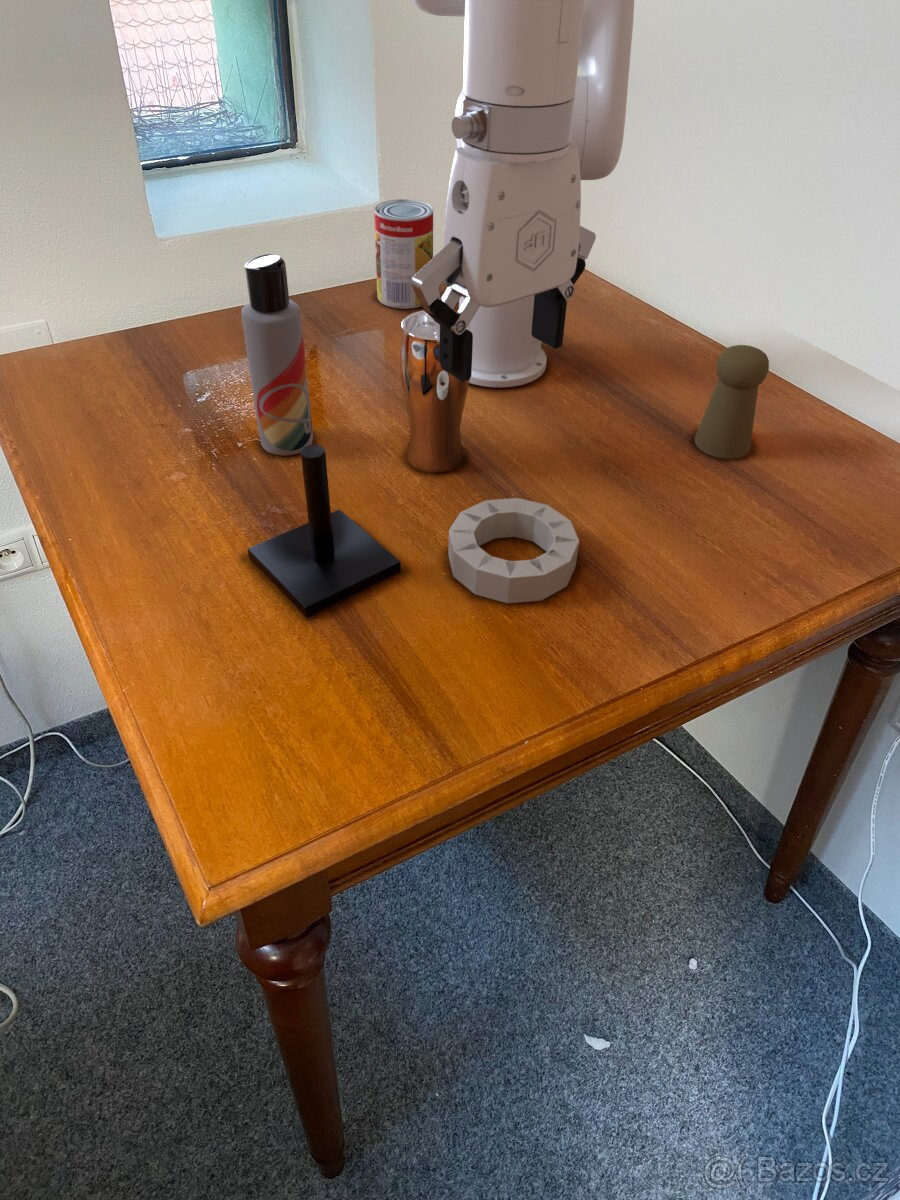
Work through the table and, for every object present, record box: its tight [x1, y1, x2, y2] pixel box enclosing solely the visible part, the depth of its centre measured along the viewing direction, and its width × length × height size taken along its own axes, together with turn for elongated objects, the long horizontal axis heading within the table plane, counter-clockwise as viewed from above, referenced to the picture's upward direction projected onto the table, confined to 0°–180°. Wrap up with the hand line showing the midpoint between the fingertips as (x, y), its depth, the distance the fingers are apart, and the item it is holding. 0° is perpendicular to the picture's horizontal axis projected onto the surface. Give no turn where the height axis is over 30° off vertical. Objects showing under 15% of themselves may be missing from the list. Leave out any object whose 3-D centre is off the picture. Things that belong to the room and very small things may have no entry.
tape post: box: [247, 444, 402, 618], centre depth 76 cm, size 10×10×12 cm
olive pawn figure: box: [694, 344, 770, 460], centre depth 93 cm, size 6×6×11 cm
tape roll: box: [447, 497, 580, 604], centre depth 80 cm, size 11×11×3 cm
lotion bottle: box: [241, 253, 314, 457], centre depth 88 cm, size 6×6×20 cm
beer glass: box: [399, 309, 470, 474], centre depth 88 cm, size 7×7×15 cm
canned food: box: [373, 198, 434, 310], centre depth 120 cm, size 8×8×12 cm
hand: (502, 357), depth 71 cm, fingers open, 9 cm apart
